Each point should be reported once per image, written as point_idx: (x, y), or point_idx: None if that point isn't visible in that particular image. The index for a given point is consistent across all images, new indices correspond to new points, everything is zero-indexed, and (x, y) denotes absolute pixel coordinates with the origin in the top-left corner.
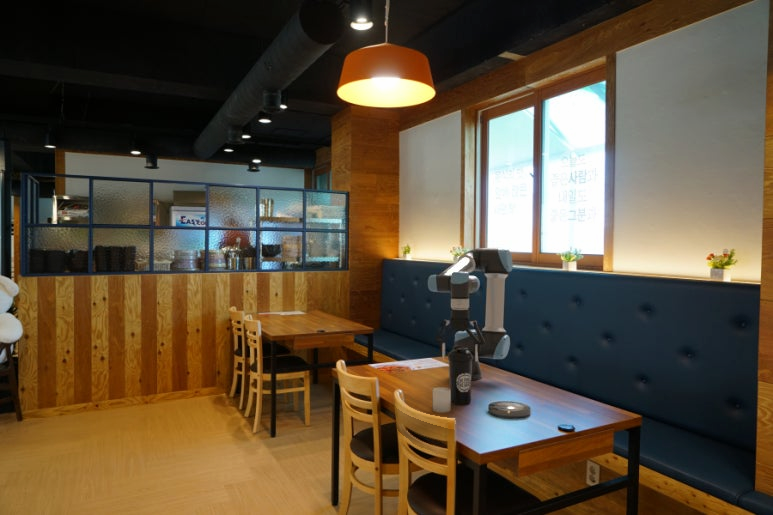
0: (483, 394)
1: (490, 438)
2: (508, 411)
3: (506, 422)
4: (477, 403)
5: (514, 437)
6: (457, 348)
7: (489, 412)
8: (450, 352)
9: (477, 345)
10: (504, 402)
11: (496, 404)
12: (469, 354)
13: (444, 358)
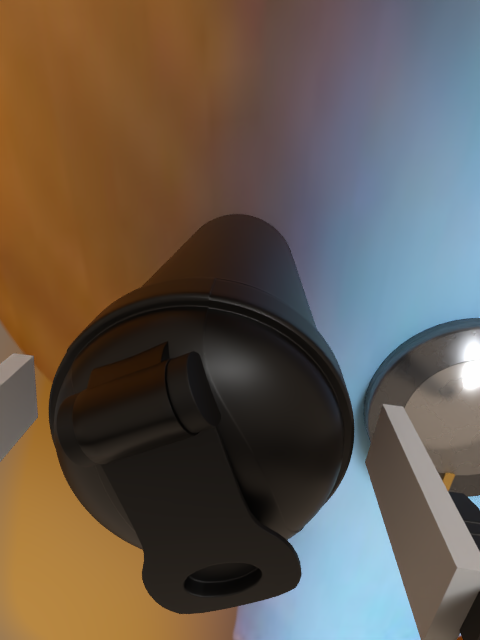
0: (397, 78)
1: (324, 623)
2: (446, 480)
3: None
4: (328, 286)
5: (400, 617)
6: (147, 573)
7: (365, 425)
8: (71, 488)
9: (461, 627)
10: (470, 354)
11: (416, 392)
12: (310, 519)
13: (32, 401)
